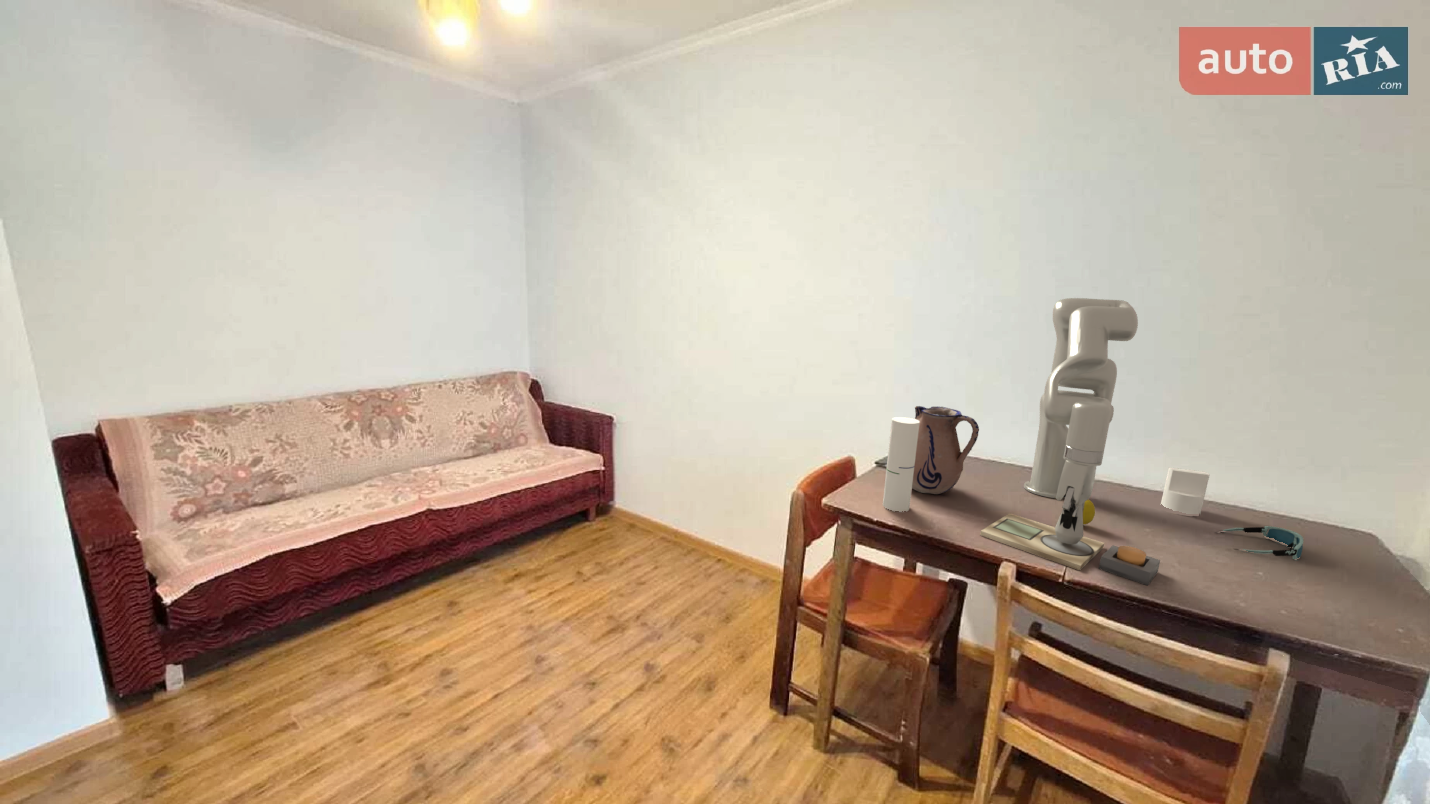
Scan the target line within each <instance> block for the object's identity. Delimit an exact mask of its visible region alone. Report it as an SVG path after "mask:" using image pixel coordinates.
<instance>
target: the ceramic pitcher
mask: <svg viewBox="0 0 1430 804" xmlns="http://www.w3.org/2000/svg"><path fill="white" fill-rule="evenodd" d="M914 409H915V411H914V412H915V415H914V416H915V417H914V419H916V420H918V421H920V423H919V432H918V440H917V448H916V457H915V465H914V474H913V482H912V489H913V491H916V492H918V493H922V494H932V495H933V494H934V495H939V494H943V493H946V492H948V491H950V490H952V489H953V488H954V487H955V485H957V483H958V481H959V479H960V477H961V476H962V472H963V470H964V462H965V460H966V458H967V457H968V455H969V454H970V452H971V451H972V449H973V447H974V446H975V444H976V443H977V440H978V437H979V431H980V428H979V427H980V426H979V424H978V423H977V421H976V420H975V418H973V417H970V416H968V415H963V414H962V412H961V411H960V410H957V409H954V408H949V407H944V406H931V407H929V408H928V407H925V406H920V405H916V406H915V407H914ZM961 422H966V423H969V424H970V426H971V428H972V429H971V430H972V432H971V436H970V438H969V441H968V442H967V444H966V445H965V447H964V448H963V450H962V451H961V447H960V442H959V437H958V432H957V426H958V424H960V423H961Z"/></svg>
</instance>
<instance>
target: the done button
mask: <svg viewBox="0 0 1430 804" xmlns="http://www.w3.org/2000/svg"><path fill="white" fill-rule="evenodd" d="M1118 547H1119V548H1118V553H1117V559H1119V560H1122V561H1125V562H1128V563H1131V564H1134V565H1137V566H1140V567H1143V566H1144V563H1145V558H1146V556H1147V553H1146V552H1145V551H1144V550H1142V549H1139V548H1136V547H1134V546H1129V545H1120V546H1118Z"/></svg>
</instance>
